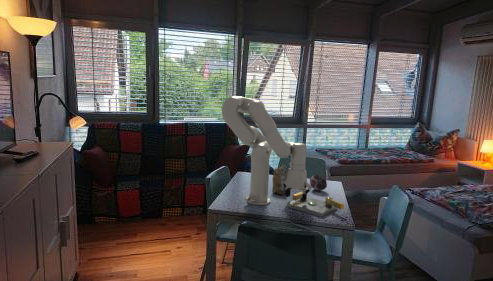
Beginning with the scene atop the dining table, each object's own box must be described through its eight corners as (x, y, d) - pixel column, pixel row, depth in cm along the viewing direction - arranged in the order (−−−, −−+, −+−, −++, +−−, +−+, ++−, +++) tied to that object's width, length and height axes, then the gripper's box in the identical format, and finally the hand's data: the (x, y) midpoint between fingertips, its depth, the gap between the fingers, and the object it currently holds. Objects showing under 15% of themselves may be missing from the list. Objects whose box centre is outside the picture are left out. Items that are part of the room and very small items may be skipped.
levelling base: (321, 217, 160) (322, 212, 160) (286, 206, 173) (286, 201, 172) (337, 208, 173) (337, 203, 173) (303, 199, 186) (303, 194, 185)
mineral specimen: (328, 192, 200) (329, 176, 199) (311, 192, 200) (312, 176, 198) (323, 188, 210) (324, 172, 209) (307, 187, 209) (308, 172, 208)
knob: (344, 210, 164) (345, 203, 164) (338, 211, 163) (339, 204, 162) (328, 203, 174) (329, 196, 174) (323, 204, 172) (324, 197, 172)
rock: (285, 197, 189) (286, 171, 187) (268, 194, 193) (269, 169, 191) (296, 185, 214) (298, 162, 212) (281, 183, 218) (282, 160, 216)
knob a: (296, 202, 173) (297, 196, 172) (290, 201, 175) (291, 194, 174) (307, 198, 181) (308, 191, 181) (301, 196, 184) (302, 190, 183)
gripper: (279, 165, 175) (278, 196, 177) (309, 171, 164) (306, 204, 167) (287, 163, 181) (285, 193, 183) (316, 168, 170) (314, 201, 172)
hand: (295, 198), depth 175 cm, fingers open, 9 cm apart
